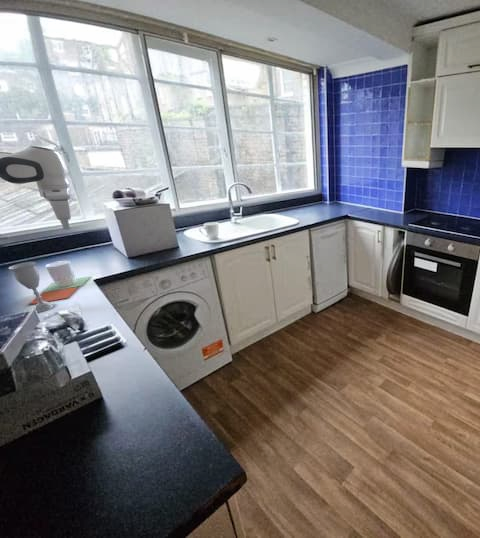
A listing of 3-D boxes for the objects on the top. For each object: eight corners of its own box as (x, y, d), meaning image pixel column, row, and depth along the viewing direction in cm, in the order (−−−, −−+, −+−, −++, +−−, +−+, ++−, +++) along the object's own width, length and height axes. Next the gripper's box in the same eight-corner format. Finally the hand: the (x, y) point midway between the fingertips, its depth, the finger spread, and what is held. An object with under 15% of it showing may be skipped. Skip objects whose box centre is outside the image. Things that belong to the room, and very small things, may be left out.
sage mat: (42, 292, 126) (42, 292, 126) (54, 282, 135) (54, 282, 135) (80, 286, 131) (80, 285, 131) (89, 277, 140) (89, 276, 140)
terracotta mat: (29, 305, 116) (28, 304, 116) (43, 293, 125) (42, 292, 125) (68, 298, 120) (67, 297, 120) (78, 287, 130) (78, 286, 130)
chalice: (30, 309, 113) (7, 266, 106) (54, 302, 118) (33, 260, 111) (33, 315, 109) (9, 270, 102) (58, 307, 114) (36, 264, 106)
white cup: (81, 282, 134) (72, 262, 130) (58, 289, 128) (48, 268, 124) (75, 278, 138) (66, 259, 134) (52, 285, 132) (42, 264, 128)
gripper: (42, 188, 118) (52, 221, 123) (45, 196, 106) (56, 233, 111) (64, 187, 123) (73, 220, 128) (69, 195, 110) (79, 231, 115)
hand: (65, 226), depth 119 cm, fingers open, 8 cm apart
